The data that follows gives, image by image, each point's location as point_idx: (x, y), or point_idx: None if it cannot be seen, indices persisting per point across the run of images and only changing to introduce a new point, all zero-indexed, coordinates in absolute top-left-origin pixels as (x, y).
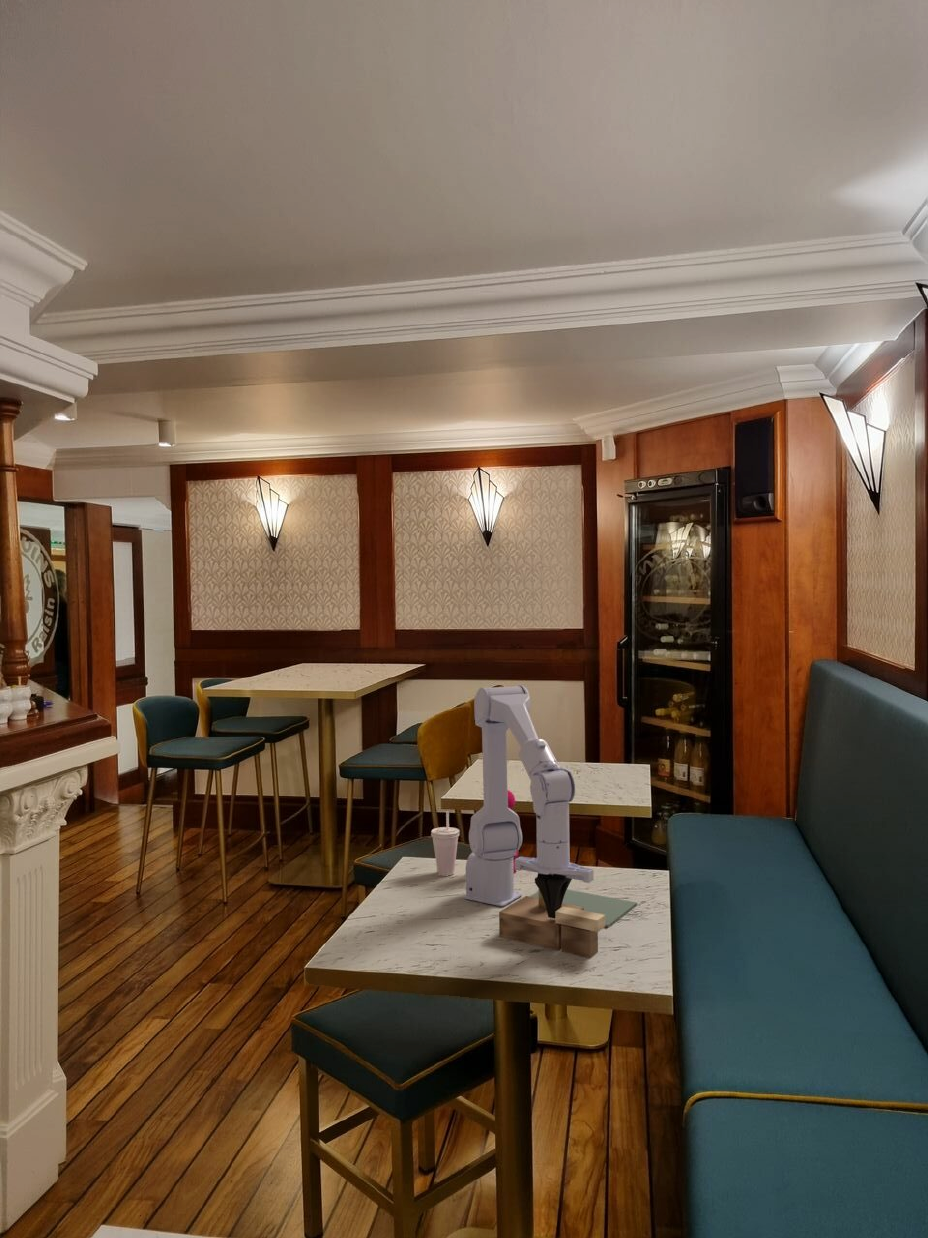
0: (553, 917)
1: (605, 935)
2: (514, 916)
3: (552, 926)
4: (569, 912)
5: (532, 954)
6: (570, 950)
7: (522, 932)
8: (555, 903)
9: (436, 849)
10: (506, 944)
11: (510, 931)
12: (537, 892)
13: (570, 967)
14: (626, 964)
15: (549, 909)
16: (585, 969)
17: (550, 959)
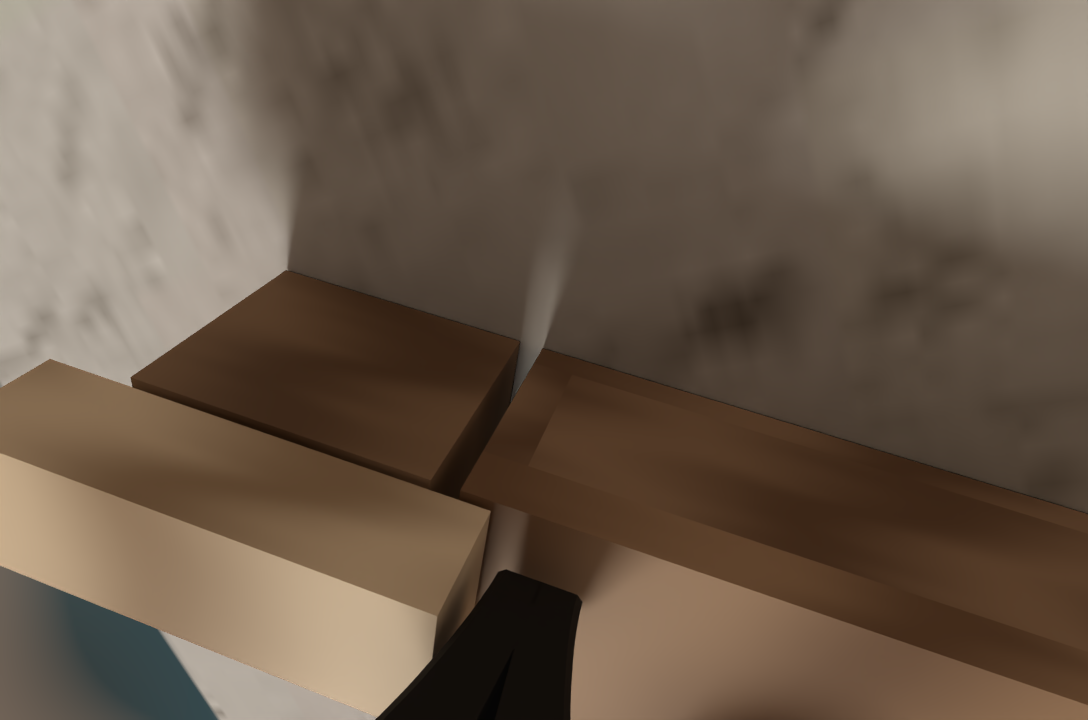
0: (508, 579)
1: None
2: (1050, 680)
3: (541, 494)
4: (280, 598)
5: (751, 226)
6: (431, 328)
7: (907, 517)
8: (380, 717)
9: None
10: (1072, 394)
11: (1053, 553)
12: None
13: (338, 40)
14: (63, 233)
15: (519, 662)
16: (221, 44)
17: (556, 161)
